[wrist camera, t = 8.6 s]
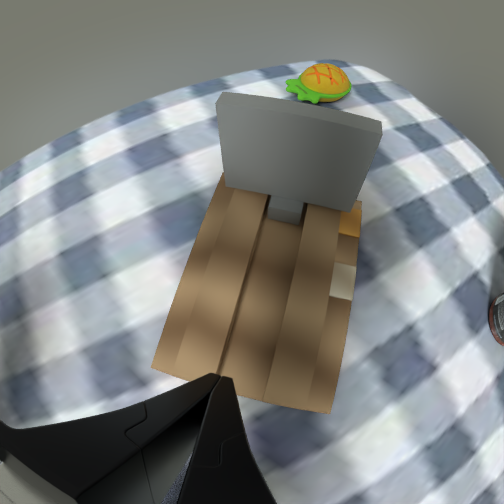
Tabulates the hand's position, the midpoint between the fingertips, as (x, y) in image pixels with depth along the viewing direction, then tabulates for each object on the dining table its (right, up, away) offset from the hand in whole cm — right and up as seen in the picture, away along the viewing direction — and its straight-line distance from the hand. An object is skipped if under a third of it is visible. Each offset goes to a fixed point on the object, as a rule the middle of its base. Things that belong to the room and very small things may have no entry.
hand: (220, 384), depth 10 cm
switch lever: (+4, +9, +18) cm, 20 cm away
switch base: (+3, +2, +16) cm, 16 cm away
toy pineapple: (+10, +26, +28) cm, 40 cm away
